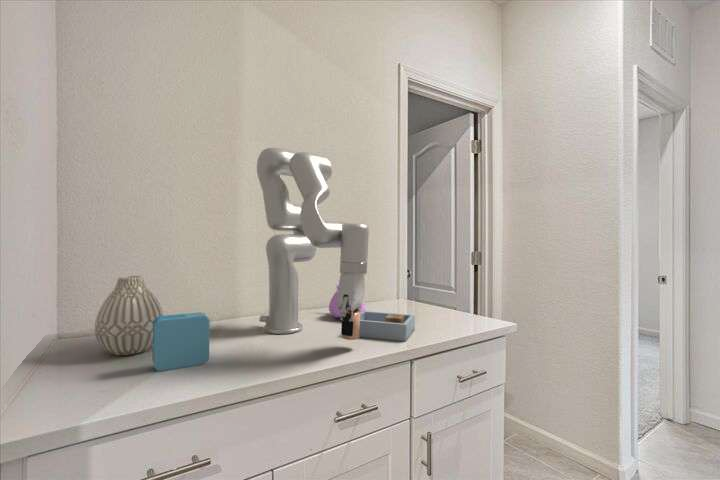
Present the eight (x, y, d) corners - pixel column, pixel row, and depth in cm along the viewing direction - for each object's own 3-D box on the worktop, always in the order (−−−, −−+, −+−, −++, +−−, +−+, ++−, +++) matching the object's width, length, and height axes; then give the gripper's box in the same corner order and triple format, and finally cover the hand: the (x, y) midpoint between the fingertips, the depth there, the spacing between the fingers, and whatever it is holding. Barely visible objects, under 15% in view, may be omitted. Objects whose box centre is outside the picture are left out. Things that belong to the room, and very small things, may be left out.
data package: (206, 358, 96) (206, 311, 96) (209, 363, 92) (209, 314, 92) (152, 366, 90) (152, 316, 90) (154, 372, 86) (154, 320, 86)
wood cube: (385, 333, 120) (385, 317, 120) (389, 329, 125) (389, 314, 125) (400, 334, 118) (400, 318, 118) (404, 330, 123) (404, 315, 123)
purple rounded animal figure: (320, 313, 151) (320, 283, 151) (352, 310, 157) (353, 281, 157) (339, 324, 133) (339, 290, 133) (374, 321, 139) (375, 288, 139)
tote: (348, 335, 119) (348, 319, 119) (362, 325, 132) (362, 310, 132) (406, 341, 113) (406, 324, 113) (414, 329, 127) (415, 315, 127)
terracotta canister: (338, 338, 104) (339, 313, 104) (345, 333, 109) (346, 309, 108) (355, 340, 102) (357, 315, 102) (361, 335, 107) (362, 311, 107)
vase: (91, 349, 103) (91, 275, 102) (157, 338, 113) (157, 272, 113) (98, 365, 90) (97, 282, 90) (170, 352, 101) (170, 277, 100)
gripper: (351, 264, 114) (348, 323, 115) (328, 270, 98) (325, 339, 99) (375, 266, 111) (372, 326, 112) (356, 272, 95) (352, 343, 96)
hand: (350, 331), depth 105 cm, fingers closed on terracotta canister, 5 cm apart
